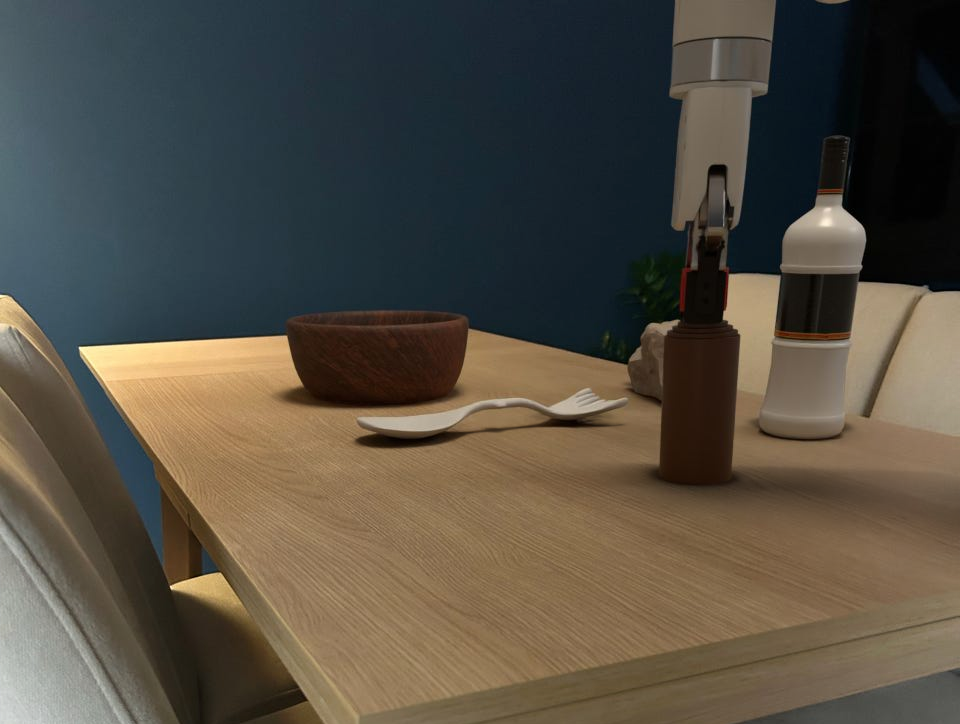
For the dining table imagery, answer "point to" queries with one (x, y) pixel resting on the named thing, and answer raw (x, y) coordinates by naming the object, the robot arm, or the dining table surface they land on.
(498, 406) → the white spork
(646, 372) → the decorative stone
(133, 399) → the dining table surface
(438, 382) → the wooden bowl
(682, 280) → the cap
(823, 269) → the vodka
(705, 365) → the sauce bottle
